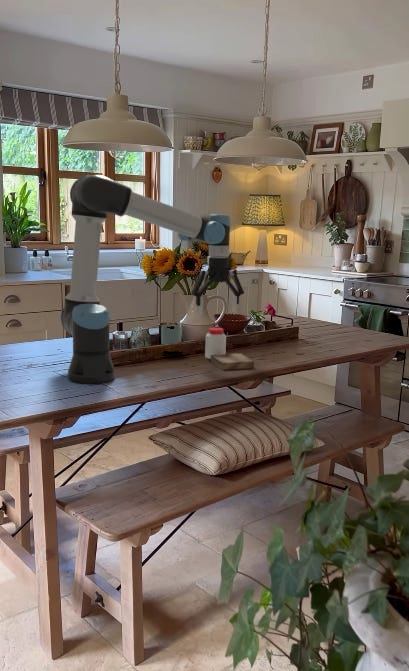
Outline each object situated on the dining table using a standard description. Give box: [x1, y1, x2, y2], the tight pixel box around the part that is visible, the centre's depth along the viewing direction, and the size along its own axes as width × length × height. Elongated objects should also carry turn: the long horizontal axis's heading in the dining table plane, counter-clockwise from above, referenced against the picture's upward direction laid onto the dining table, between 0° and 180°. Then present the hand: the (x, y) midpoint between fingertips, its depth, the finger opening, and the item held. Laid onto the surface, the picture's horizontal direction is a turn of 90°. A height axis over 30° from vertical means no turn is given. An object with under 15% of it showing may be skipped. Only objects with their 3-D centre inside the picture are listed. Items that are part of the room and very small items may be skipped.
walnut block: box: [210, 352, 255, 371], centre depth 222 cm, size 12×12×3 cm
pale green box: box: [160, 324, 182, 345], centre depth 238 cm, size 8×8×10 cm
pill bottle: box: [204, 327, 227, 360], centre depth 232 cm, size 8×8×11 cm
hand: (217, 313), depth 229 cm, fingers open, 13 cm apart
